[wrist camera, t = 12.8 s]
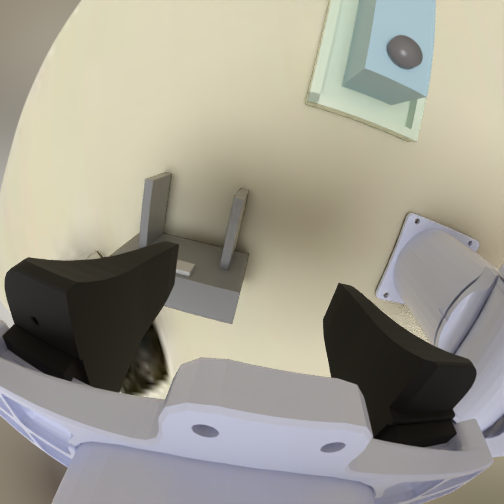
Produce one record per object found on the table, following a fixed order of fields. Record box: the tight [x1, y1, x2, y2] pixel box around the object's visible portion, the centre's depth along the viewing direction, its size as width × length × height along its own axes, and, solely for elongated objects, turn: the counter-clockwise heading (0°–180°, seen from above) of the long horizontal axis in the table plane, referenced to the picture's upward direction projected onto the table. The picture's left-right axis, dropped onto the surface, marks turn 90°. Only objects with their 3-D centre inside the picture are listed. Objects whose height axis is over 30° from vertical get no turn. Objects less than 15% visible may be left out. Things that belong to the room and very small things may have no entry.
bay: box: [109, 173, 249, 324], centre depth 19 cm, size 9×8×6 cm
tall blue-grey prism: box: [342, 0, 436, 105], centre depth 12 cm, size 4×9×6 cm, turn 167°
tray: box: [305, 0, 426, 142], centre depth 14 cm, size 8×14×2 cm, turn 167°
